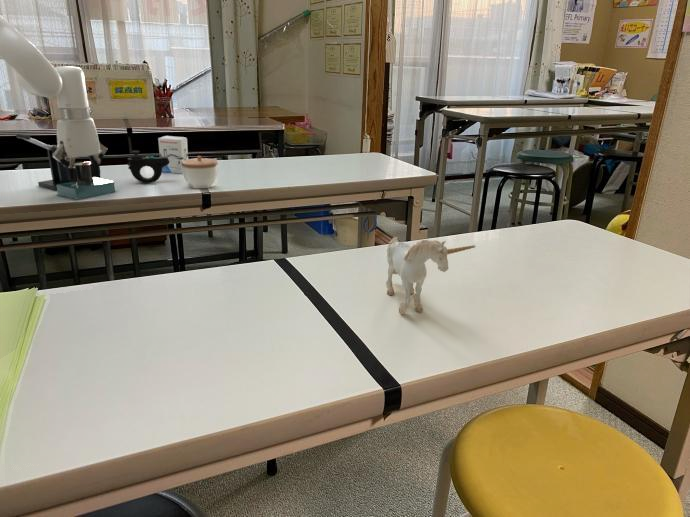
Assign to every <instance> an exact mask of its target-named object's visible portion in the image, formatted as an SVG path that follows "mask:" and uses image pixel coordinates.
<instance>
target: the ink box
mask: <svg viewBox="0 0 690 517" xmlns="http://www.w3.org/2000/svg"><path fill="white" fill-rule="evenodd" d="M157 141H158V152H159V157H168V159H169V161H170V162H169V164H168V165H166V166H164V167H163V168H162V173H171V174H180V175H181V174H182V175H183V170H182V164H181V162H182V161H183V160H187V159H189V151H188V150H189V149H188V138H187V137H184V136H173V135H164V136H161V137H158V138H157Z"/></svg>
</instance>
